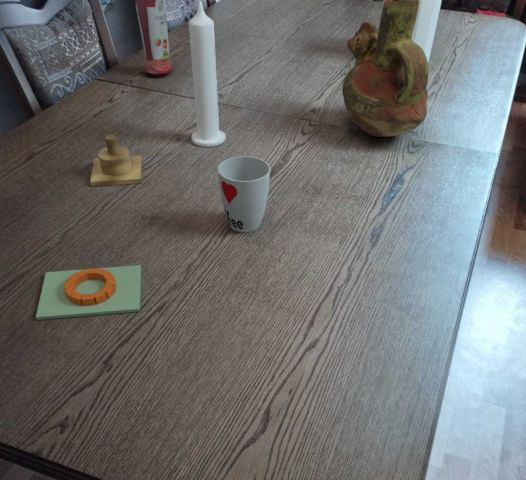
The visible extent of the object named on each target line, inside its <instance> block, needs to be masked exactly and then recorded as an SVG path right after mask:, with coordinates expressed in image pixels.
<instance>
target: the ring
mask: <svg viewBox="0 0 526 480" xmlns="http://www.w3.org/2000/svg"><path fill="white" fill-rule="evenodd" d="M97 268H99V269H98V270H97ZM100 268H101V267H92V268H86V271H85V270H84V269H85V268H84V269H80V270H81V271H78V272H76V273H74V274H72V275H71V276H70V277H69V278H68V279H67V280H66V282H65V286H64V291H65V294H66V297H67V298H68V299H69V300H70V302H72V303H74V304H78V305H81V306H82V305H84V306H88V305H95V303H96V304H99V303H102V302H104V301H106V300H107V299H109V298H110V297H111V296H112V295H113V294H114V293H115V291H116V281H115V278H114V276H113V275H112V274H111V273H110V272H108V271H107V270H104V269H100ZM93 279H98V280H102V281H104V282H105V283H106V285H105V286H104V287H103V288H102V289H101V290H100V291H97V292H95V293H93V294H81V293H78V292H76V291H75V288H76V287H77V286H78V285H79V284H80V283H82V282H84V281H87V280H93Z"/></svg>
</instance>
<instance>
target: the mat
mask: <svg viewBox="0 0 526 480" xmlns="http://www.w3.org/2000/svg"><path fill="white" fill-rule="evenodd" d="M96 268H97V270H98V269H99V268H100V269H104V270H107V271H108V272H110V273H111V274H112V275H113V276H114V278H115V281H116V291H115V293H114V294H113V295H112V296H111V297H110V298H109V299H107V300H106V301H104V302H102V303H99V304H96V303H95V305H88V306H84V305H82V306H81V305H78V304H74V303H72V302H70V300H69V299H68V298H67V297H66V294H65V291H64V286H65V282H66V280H67V279H68V278H69V277H70V276H71V275H72V274H74V273H76V272H78V271H81V270H82V269H71V270H70V269H69V270H59V271H58V270H57V271H56V270H55V271H46V272H45V273H44V278H43V282H42V283H43V284H42V287H41V292H40V296H39V301H38V305H37V310H36V314H35V319H36V321H43V320H44V321H45V320H56V319H57V320H58V319H69V318H81V317H91V316H92V317H93V316H104V315H116V314H128V313H129V314H130V313H140V312H141V294H142V293H141V292H142V290H141V289H142V265H141V264H138V265H137V264H135V265H124V266H123V265H122V266H111V267H96ZM86 269H87V268H86ZM86 269H85V268H84V270H85V271H86ZM105 285H106V283H105V282H104V281H102V280H98V279H93V280H87V281H84V282H82V283H80V284H79V285H78V286H77V287H76V288H75V291H76V292H78V293H81V294H93V293H95V292H97V291H100V290H101V289H102V288H103V287H104V286H105Z"/></svg>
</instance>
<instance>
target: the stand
mask: <svg viewBox="0 0 526 480" xmlns="http://www.w3.org/2000/svg"><path fill="white" fill-rule="evenodd" d="M117 138H118V137H117V135H115V134H108V135H105V137H104V141H105V145H106V147H104V148H101V149H100V150H99V151H98V153H97V155H98V157H95V158H93V164H92V167H91V168H92V169H91V174H90V181H89V183H90V187H106V186H108V187H109V186H122V185H139V184H142V178H143V177H142V175H143V174H142V173H143V157H142V155H131V154H130V150H129V149H128V148H127V147H125V146H122V145H119V144H118V139H117Z"/></svg>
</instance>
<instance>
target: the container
mask: <svg viewBox="0 0 526 480" xmlns="http://www.w3.org/2000/svg"><path fill="white" fill-rule="evenodd" d="M384 1H385V0H382V5H381V6H382V7H381V11H382V10H383V4H384ZM442 2H443V0H419V7H418V13H417V18H416V22H415V25H414V29H413V33H412V41H413V42H414V43H416V44H417V45H419V46H420V47H421V48H422V50H423V52H424V53H425V56H426V58H427V61H428V64H429V63H430V58H431V54H432V48H433V44H434V39H435V34H436V30H437V24H438V20H439V15H440V10H441V7H442ZM380 13H381V14H380V16H381V15H382V12H380ZM380 20H381V18H380V19H379V21H380Z"/></svg>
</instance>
